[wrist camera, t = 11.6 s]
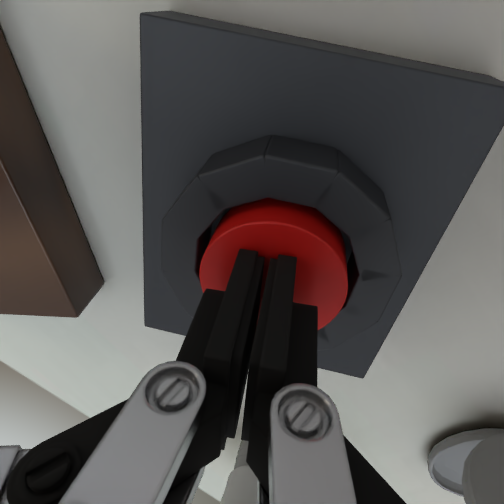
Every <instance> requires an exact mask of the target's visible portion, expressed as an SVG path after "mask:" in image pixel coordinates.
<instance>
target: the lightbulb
mask: <svg viewBox="0 0 504 504" xmlns="http://www.w3.org/2000/svg"><path fill="white" fill-rule="evenodd" d="M248 442H249V441H245V440H242V441H241V443H240V447H239V450H238V455H237V458H236V463H235V467H234V470H233V471H232V472H231V473H230V475H229V477H228V481H227V485H226V488H225V492H224V494H223V497H222V499H221V502H220V504H257V482H258V479H257V477H256V476H255V474H254V473H253V471H252V470H251V468H250V467H249V465H248V464H247V462H246V457H247V449H248Z"/></svg>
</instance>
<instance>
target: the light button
mask: <svg viewBox="0 0 504 504" xmlns="http://www.w3.org/2000/svg"><path fill="white" fill-rule="evenodd" d="M239 249H247V250H253V251H258V256H260V257H265V260H264V269H263V278H262V287H261V295H260V304H259V312H258V318H259V313H260V308H261V303H262V298H263V293H264V288H265V283H266V278H267V273H268V268H269V263H270V258H273V259H278V255H279V254H280V255H287V256H293V257H297V264H296V275H295V285H294V296H293V302H295V303H301V304H307V305H314V306H317V307H318V330H319V329H321V328H323V327H324V326H326V325H327V324H328V323H330V322H331V321H332V320H333V319H334V318H335V317H336V316H337V314H338V313H339V312H340V310H341V309H342V307H343V305H344V303H345V300H346V297H347V291H348V276H347V264H346V251H345V244H344V240H343V237H342V234H341V232H340V230H339V229H338V227H337V226H335V225H334V224H333V223H332V222H331V221H330V220H328V219H327V218H326V217H325V216H324V215H323V214H321V213H320V212H319V211H318V210H317V209H316V208H312V207H308V206H303V205H299V204H294V203H290V202H285V201H281V200H276V199H272V198H265V199H261V200H257V201H254V202H250V203H246V204H243V205H239V206H235V207H233V208H231V209H230V210H229V211H228V212H227V213H226V214H225V215H224V216H223V218H222V219H221V220H220V222H219V224H218V226H217V227H216V230H215V232H214V234H213V236H212V238H211V240H210V242H209V244H208V246H207V248H206V250H205V252H204V255H203V257H202V260H201V264H200V274H199V277H200V284H201V287H202V291H203V293H204V291H205V290H206V289H207V288H208V289H214V290H220V291H225V290H226V287H227V284H228V281H229V278H230V275H231V272H232V269H233V266H234V263H235V260H236V257H237V254H238V251H239ZM257 323H258V321H257Z"/></svg>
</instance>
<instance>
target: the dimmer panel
mask: <svg viewBox="0 0 504 504" xmlns="http://www.w3.org/2000/svg"><path fill="white" fill-rule="evenodd" d="M103 285H104V281H103V279H102V277H101V274H100V272H99V269H98V267H97V264H96V262H95V259H94V257H93V254H92V252H91V249H90V247H89V245H88V242H87V240H86V237H85V235H84V232H83V230H82V227H81V225H80V222H79V220H78V218H77V215H76V213H75V210H74V208H73V205H72V203H71V200H70V198H69V195H68V193H67V190H66V188H65V186H64V183H63V181H62V178H61V176H60V173H59V171H58V168H57V166H56V163H55V161H54V159H53V156H52V154H51V151H50V149H49V146H48V144H47V141H46V139H45V136H44V134H43V131H42V129H41V127H40V124H39V122H38V119H37V117H36V114H35V112H34V109H33V107H32V104H31V102H30V100H29V97H28V95H27V92H26V90H25V87H24V85H23V82H22V80H21V77H20V75H19V73H18V70H17V68H16V65H15V63H14V60H13V58H12V55H11V53H10V50H9V48H8V45H7V43H6V41H5V38H4V36H3V33H2V31H1V28H0V314H13V315H34V316H55V317H79V315H80V314H81V313H82V311H83V310H84V309H85V308H86V306H87V305H88V304H89V302H90V301H91V300H92V299H93V297H94V296H95V295H96V293H97V292H98V291H99V290H100V288H101V287H102V286H103Z"/></svg>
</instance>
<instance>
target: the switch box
mask: <svg viewBox="0 0 504 504" xmlns="http://www.w3.org/2000/svg"><path fill="white" fill-rule="evenodd" d="M140 57H141V123H142V189H143V255H144V321H145V326H147V327H151V328H155V329H159V330H164V331H168V332H172V333H176V334H180V335H184V336H186V335H187V332H188V330H189V327H190V325H191V323H192V320H193V318H194V315H195V313H196V310H197V308H198V305H199V303H200V300H201V298H202V296H203V291H202V287H201V284H200V277H199V274H200V264H201V260H202V257H203V255H204V252H205V250H206V248H207V246H208V244H209V242H210V240H211V238H212V236H213V234H214V232H215V230H216V227H217V226H218V224H219V222H220V220H221V219H222V218H223V216H224V215H225V214H226V213H227V212H228V211H229V210H230V209H231V208H233V207H235V206H239V205H243V204H246V203H250V202H254V201H257V200H261V199H265V198H272V199H276V200H281V201H285V202H290V203H294V204H299V205H303V206H308V207H312V208H316V209H317V210H318V211H319V212H320V213H321V214H323V215H324V216H325V217H326V218H327V219H328V220H330V221H331V222H332V223H333V224H334V225H335V226H337V227H338V229H339V230H340V232H341V234H342V237H343V240H344V244H345V251H346V264H347V276H348V291H347V297H346V300H345V303H344V305H343V307H342V309H341V310H340V312H339V313H338V314H337V316H336V317H335V318H334V319H333V320H332V321H331V322H330V323H328V324H327V325H326V326H324V327H323V328H321V329H319V330H318V345H317V368H321V369H325V370H330V371H334V372H338V373H342V374H346V375H350V376H354V377H359V378H364V376H365V375H366V373H367V371H368V369H369V367H370V366H371V364H372V362H373V360H374V358H375V357H376V355H377V353H378V351H379V349H380V348H381V346H382V344H383V342H384V340H385V338H386V337H387V335H388V333H389V331H390V329H391V328H392V326H393V324H394V322H395V320H396V319H397V317H398V315H399V313H400V311H401V310H402V308H403V306H404V304H405V302H406V301H407V299H408V297H409V295H410V293H411V292H412V290H413V288H414V286H415V284H416V283H417V281H418V279H419V277H420V275H421V274H422V272H423V270H424V268H425V266H426V265H427V263H428V261H429V259H430V257H431V255H432V254H433V252H434V250H435V248H436V246H437V245H438V243H439V241H440V239H441V237H442V236H443V234H444V232H445V230H446V228H447V227H448V225H449V223H450V221H451V219H452V218H453V216H454V214H455V212H456V210H457V209H458V207H459V205H460V203H461V201H462V200H463V198H464V196H465V194H466V192H467V191H468V189H469V187H470V185H471V183H472V182H473V180H474V178H475V176H476V174H477V173H478V171H479V169H480V167H481V165H482V163H483V162H484V160H485V158H486V156H487V154H488V153H489V151H490V149H491V147H492V145H493V144H494V142H495V140H496V138H497V136H498V135H499V133H500V131H501V129H502V127H503V126H504V82H503V81H500V80H498V79H496V78H494V77H492V76H489V75H484V74H479V73H474V72H469V71H464V70H459V69H454V68H449V67H444V66H439V65H434V64H429V63H425V62H420V61H415V60H410V59H405V58H400V57H395V56H390V55H385V54H380V53H375V52H370V51H365V50H361V49H356V48H351V47H346V46H341V45H336V44H331V43H326V42H321V41H316V40H311V39H306V38H301V37H296V36H292V35H287V34H282V33H277V32H272V31H267V30H262V29H257V28H252V27H247V26H242V25H237V24H232V23H227V22H223V21H218V20H213V19H208V18H203V17H198V16H193V15H188V14H183V13H178V12H173V11H158V12H144V13H140Z"/></svg>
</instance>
